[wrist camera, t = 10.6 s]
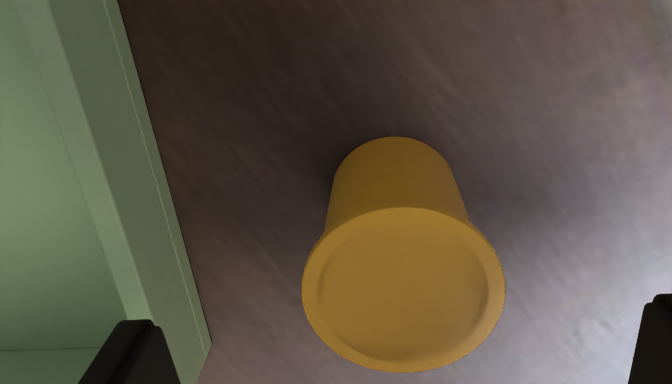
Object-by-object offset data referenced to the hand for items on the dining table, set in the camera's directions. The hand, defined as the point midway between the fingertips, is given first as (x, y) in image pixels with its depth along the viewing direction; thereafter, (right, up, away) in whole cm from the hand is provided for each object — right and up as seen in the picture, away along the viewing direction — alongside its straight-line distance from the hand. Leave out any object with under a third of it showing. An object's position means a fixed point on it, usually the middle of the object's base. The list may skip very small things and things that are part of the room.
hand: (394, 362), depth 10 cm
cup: (+1, +3, +6) cm, 7 cm away
